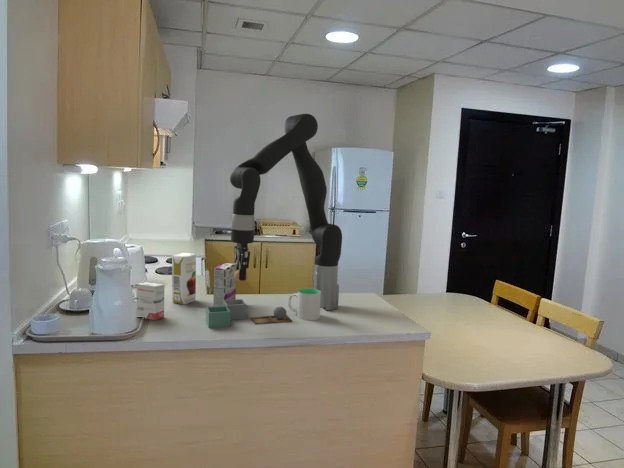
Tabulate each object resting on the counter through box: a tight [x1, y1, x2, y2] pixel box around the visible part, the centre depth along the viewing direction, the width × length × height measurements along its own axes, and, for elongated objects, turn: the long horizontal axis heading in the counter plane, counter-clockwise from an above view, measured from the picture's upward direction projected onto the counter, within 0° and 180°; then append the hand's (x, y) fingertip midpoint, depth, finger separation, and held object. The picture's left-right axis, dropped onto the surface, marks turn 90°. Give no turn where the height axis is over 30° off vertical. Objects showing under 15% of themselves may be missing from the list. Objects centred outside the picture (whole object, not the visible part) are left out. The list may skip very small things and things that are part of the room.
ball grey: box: [272, 306, 287, 320], centre depth 167 cm, size 4×4×4 cm
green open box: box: [205, 306, 231, 329], centre depth 159 cm, size 7×7×6 cm
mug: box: [287, 288, 321, 321], centre depth 172 cm, size 12×8×10 cm
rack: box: [250, 314, 293, 326], centre depth 166 cm, size 13×7×2 cm, turn 110°
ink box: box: [135, 281, 165, 321], centre depth 167 cm, size 9×5×12 cm, turn 71°
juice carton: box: [171, 252, 197, 305], centre depth 187 cm, size 8×9×19 cm
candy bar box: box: [213, 262, 237, 307], centre depth 181 cm, size 11×5×16 cm, turn 168°
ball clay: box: [234, 270, 249, 284], centre depth 160 cm, size 4×4×4 cm
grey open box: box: [223, 298, 247, 320], centre depth 169 cm, size 7×7×6 cm
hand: (240, 278), depth 160 cm, fingers closed on ball clay, 4 cm apart
